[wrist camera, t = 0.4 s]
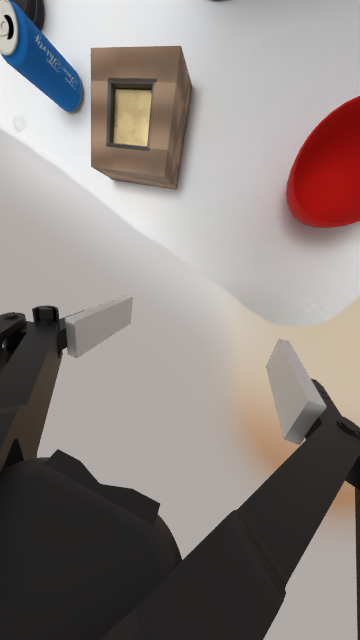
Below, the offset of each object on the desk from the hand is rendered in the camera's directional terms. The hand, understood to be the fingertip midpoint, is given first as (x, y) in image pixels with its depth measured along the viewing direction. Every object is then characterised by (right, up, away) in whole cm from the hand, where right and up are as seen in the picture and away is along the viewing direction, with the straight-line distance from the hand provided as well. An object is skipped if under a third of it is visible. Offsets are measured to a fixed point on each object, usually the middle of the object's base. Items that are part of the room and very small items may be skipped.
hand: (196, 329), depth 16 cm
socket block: (-8, +37, +19) cm, 42 cm away
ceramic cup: (+24, +24, +14) cm, 37 cm away
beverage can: (-23, +47, +21) cm, 57 cm away
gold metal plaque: (-9, +35, +16) cm, 40 cm away
